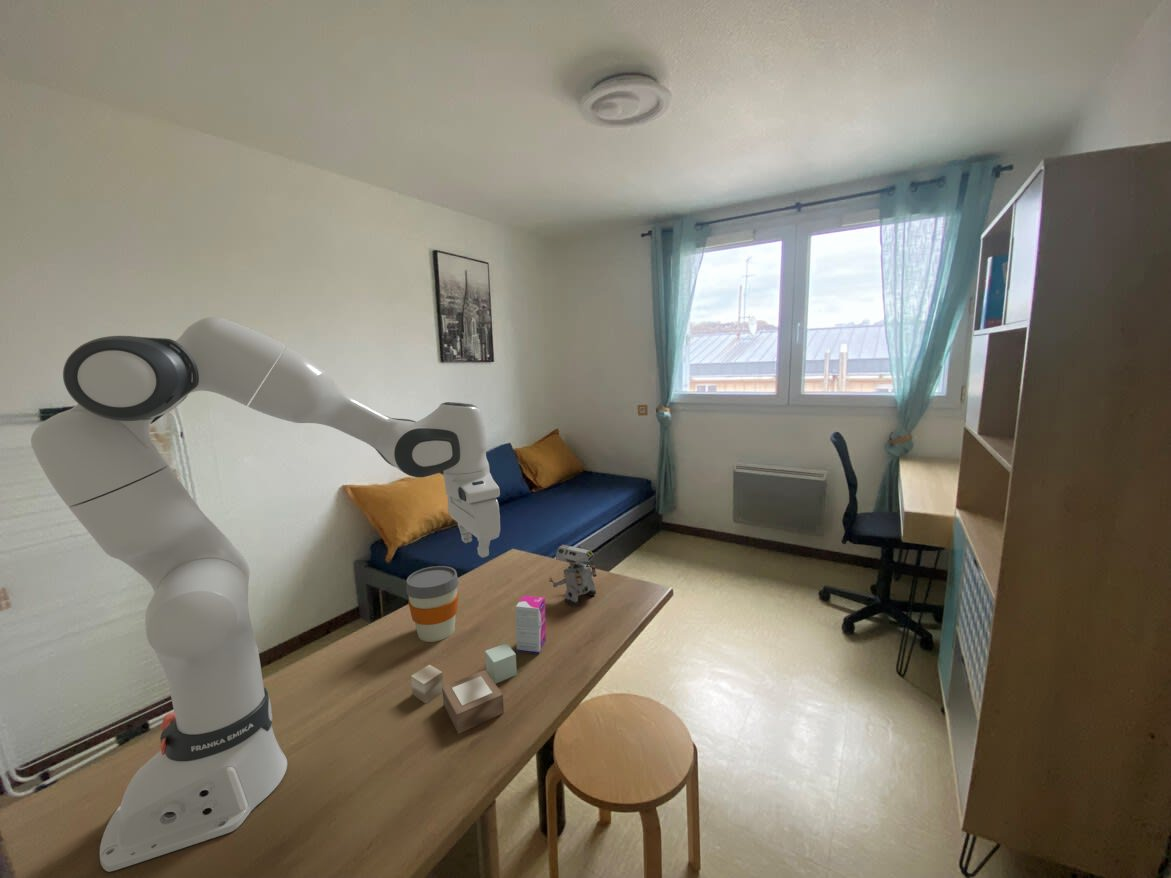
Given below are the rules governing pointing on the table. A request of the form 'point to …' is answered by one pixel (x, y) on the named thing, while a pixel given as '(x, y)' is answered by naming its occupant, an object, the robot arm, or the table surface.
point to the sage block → (501, 663)
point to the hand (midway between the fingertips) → (475, 548)
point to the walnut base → (472, 701)
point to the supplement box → (530, 624)
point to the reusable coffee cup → (433, 601)
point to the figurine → (576, 573)
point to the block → (427, 683)
